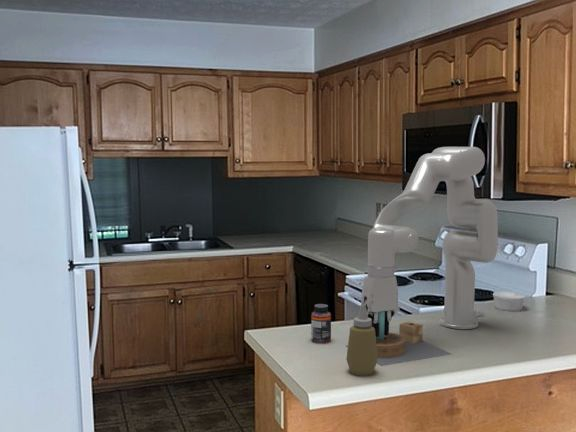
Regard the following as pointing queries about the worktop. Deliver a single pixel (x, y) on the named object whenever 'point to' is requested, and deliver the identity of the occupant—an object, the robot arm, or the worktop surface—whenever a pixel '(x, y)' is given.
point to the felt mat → (414, 353)
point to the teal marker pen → (381, 325)
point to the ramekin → (508, 300)
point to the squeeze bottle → (362, 345)
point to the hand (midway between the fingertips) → (379, 334)
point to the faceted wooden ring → (390, 346)
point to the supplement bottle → (321, 324)
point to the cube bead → (411, 332)
